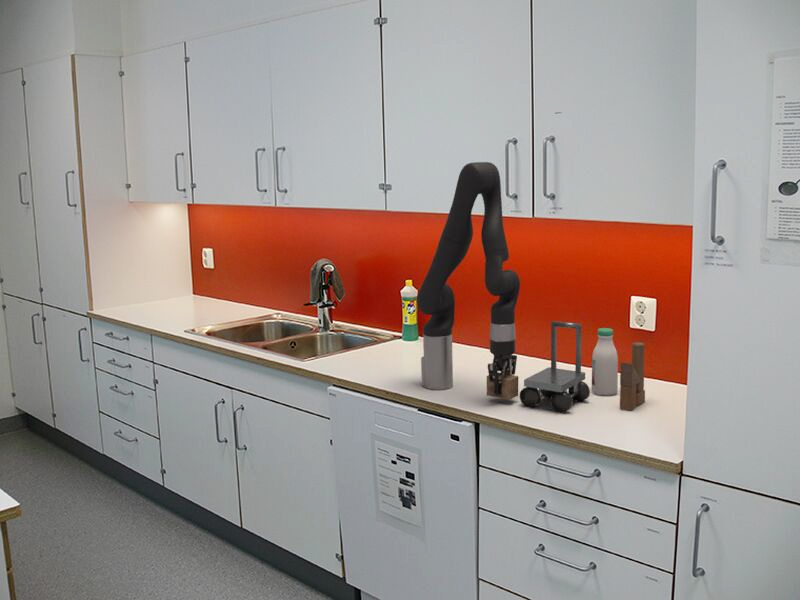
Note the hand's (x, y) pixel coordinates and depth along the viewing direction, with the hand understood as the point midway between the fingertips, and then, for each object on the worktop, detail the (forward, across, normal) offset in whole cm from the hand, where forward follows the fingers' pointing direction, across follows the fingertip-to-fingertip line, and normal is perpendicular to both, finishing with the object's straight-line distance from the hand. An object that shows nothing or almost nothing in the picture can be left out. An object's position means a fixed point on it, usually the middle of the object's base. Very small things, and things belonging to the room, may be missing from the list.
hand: (502, 392), depth 255 cm
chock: (+1, 0, 0) cm, 1 cm away
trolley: (+3, -6, +14) cm, 16 cm away
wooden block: (+3, -16, +34) cm, 38 cm away
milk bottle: (+3, -24, +22) cm, 33 cm away
